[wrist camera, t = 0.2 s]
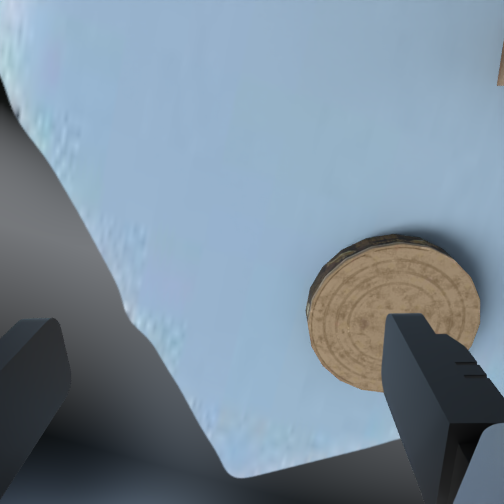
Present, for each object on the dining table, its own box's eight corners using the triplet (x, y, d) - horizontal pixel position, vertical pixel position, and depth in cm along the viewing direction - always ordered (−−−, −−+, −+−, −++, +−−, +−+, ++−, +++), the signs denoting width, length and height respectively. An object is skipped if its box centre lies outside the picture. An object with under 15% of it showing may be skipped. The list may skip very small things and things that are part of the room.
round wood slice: (479, 231, 40) (495, 242, 37) (454, 373, 45) (466, 392, 43) (306, 234, 40) (309, 245, 38) (304, 374, 46) (306, 392, 43)
